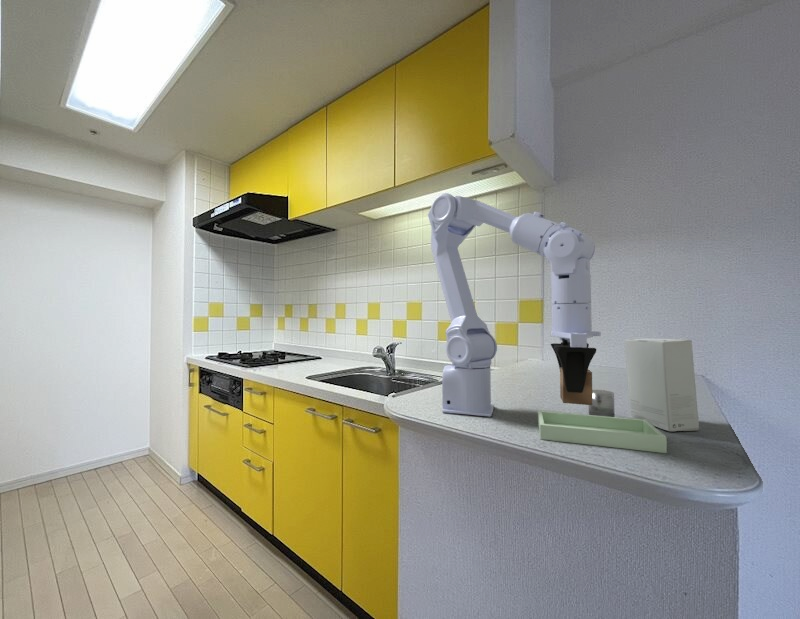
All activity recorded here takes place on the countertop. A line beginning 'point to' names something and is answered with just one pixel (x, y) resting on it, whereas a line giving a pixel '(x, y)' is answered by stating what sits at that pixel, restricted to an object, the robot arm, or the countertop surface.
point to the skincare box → (662, 383)
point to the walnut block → (575, 397)
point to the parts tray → (601, 431)
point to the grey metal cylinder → (602, 403)
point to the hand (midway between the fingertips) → (572, 388)
